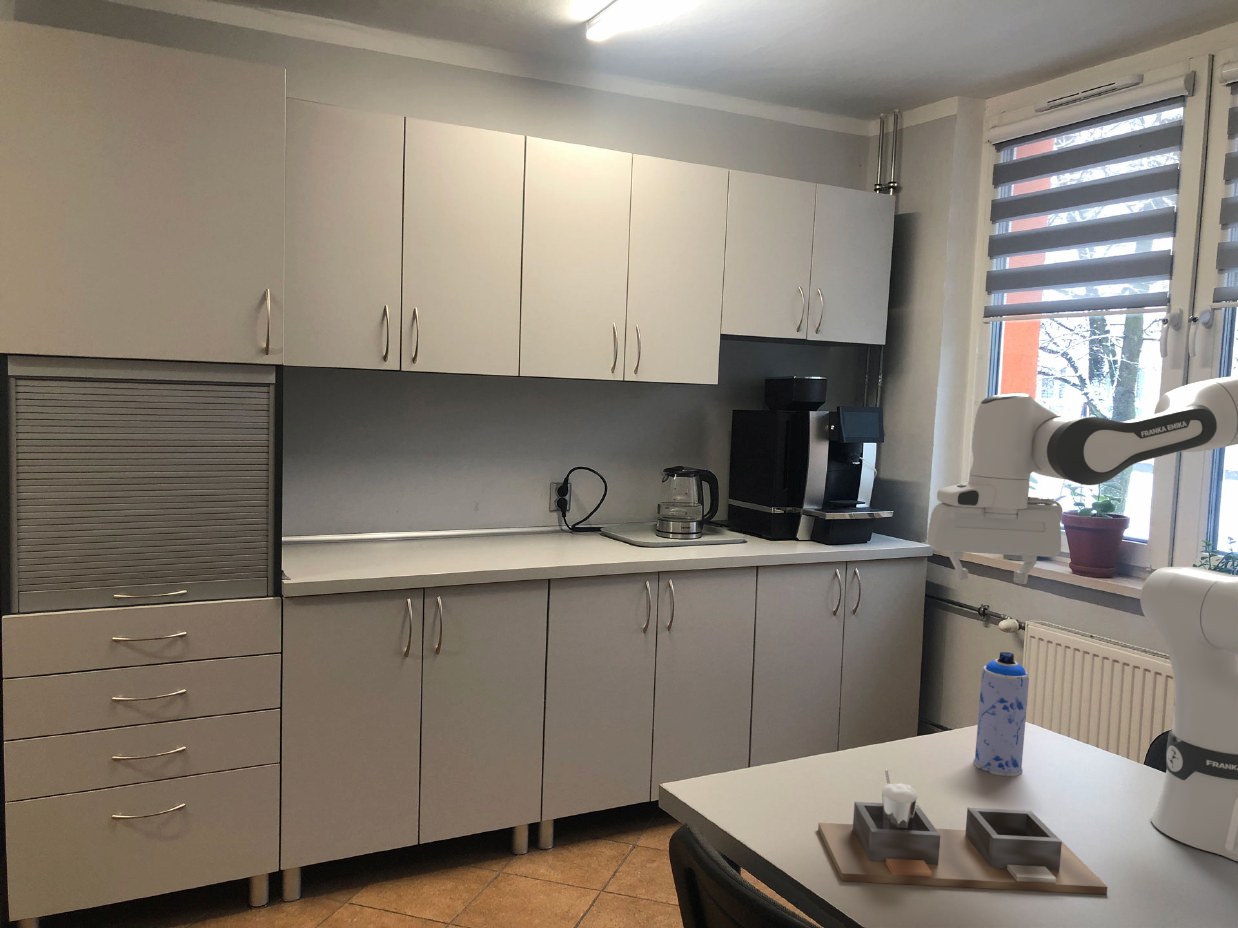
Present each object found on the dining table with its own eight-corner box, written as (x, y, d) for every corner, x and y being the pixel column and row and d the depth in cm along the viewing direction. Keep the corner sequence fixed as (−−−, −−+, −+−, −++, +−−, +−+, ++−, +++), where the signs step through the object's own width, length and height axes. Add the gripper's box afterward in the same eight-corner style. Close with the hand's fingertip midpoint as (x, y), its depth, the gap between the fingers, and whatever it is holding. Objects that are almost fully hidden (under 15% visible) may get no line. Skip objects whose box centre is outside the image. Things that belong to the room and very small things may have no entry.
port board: (1054, 841, 130) (1057, 807, 130) (1106, 894, 116) (1110, 856, 116) (818, 829, 130) (820, 795, 130) (841, 880, 116) (844, 842, 116)
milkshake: (894, 838, 126) (899, 768, 126) (920, 856, 121) (925, 784, 121) (867, 842, 125) (872, 771, 124) (891, 861, 120) (897, 787, 119)
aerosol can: (1005, 757, 162) (1014, 647, 160) (1032, 775, 154) (1041, 660, 152) (964, 758, 160) (973, 646, 159) (989, 776, 153) (998, 659, 151)
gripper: (1053, 496, 147) (1046, 580, 148) (927, 489, 147) (921, 574, 148) (1073, 500, 141) (1065, 588, 142) (941, 493, 141) (934, 581, 142)
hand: (990, 581), depth 145 cm, fingers open, 8 cm apart
